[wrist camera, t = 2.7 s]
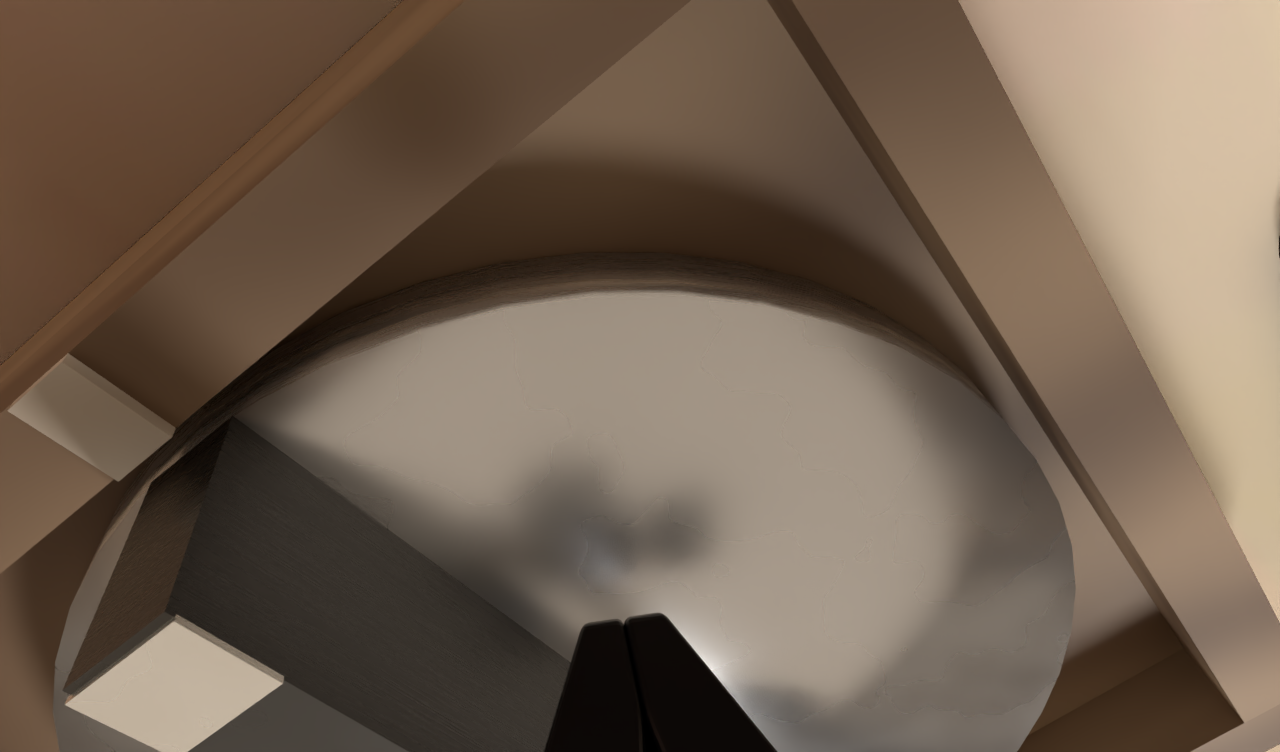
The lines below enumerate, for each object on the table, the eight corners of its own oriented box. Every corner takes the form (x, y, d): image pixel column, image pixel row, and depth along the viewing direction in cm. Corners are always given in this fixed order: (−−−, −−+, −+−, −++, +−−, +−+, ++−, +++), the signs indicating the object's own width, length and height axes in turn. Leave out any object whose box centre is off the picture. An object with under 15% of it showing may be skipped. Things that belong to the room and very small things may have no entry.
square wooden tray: (1219, 597, 23) (1336, 726, 20) (529, 989, 28) (538, 1140, 25) (718, -285, 12) (809, -301, 9) (-292, 630, 17) (-462, 827, 14)
